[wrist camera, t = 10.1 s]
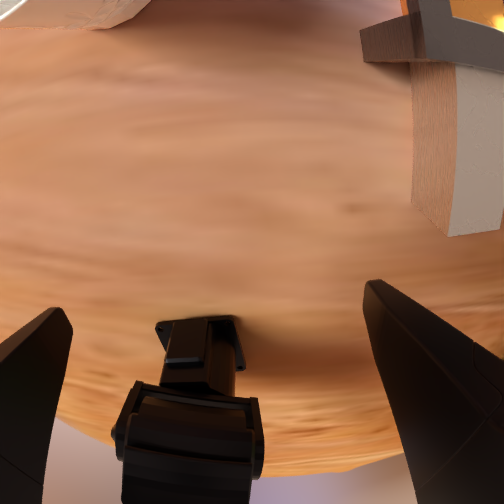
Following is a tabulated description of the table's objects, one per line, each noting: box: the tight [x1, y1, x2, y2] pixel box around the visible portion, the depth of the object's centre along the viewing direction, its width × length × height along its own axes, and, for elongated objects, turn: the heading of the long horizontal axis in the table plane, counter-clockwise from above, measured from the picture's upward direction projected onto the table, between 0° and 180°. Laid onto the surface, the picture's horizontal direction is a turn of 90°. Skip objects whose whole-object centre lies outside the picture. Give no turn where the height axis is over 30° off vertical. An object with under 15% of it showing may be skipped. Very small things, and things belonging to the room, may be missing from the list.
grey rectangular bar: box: [400, 0, 504, 237], centre depth 12 cm, size 20×4×5 cm, turn 8°
